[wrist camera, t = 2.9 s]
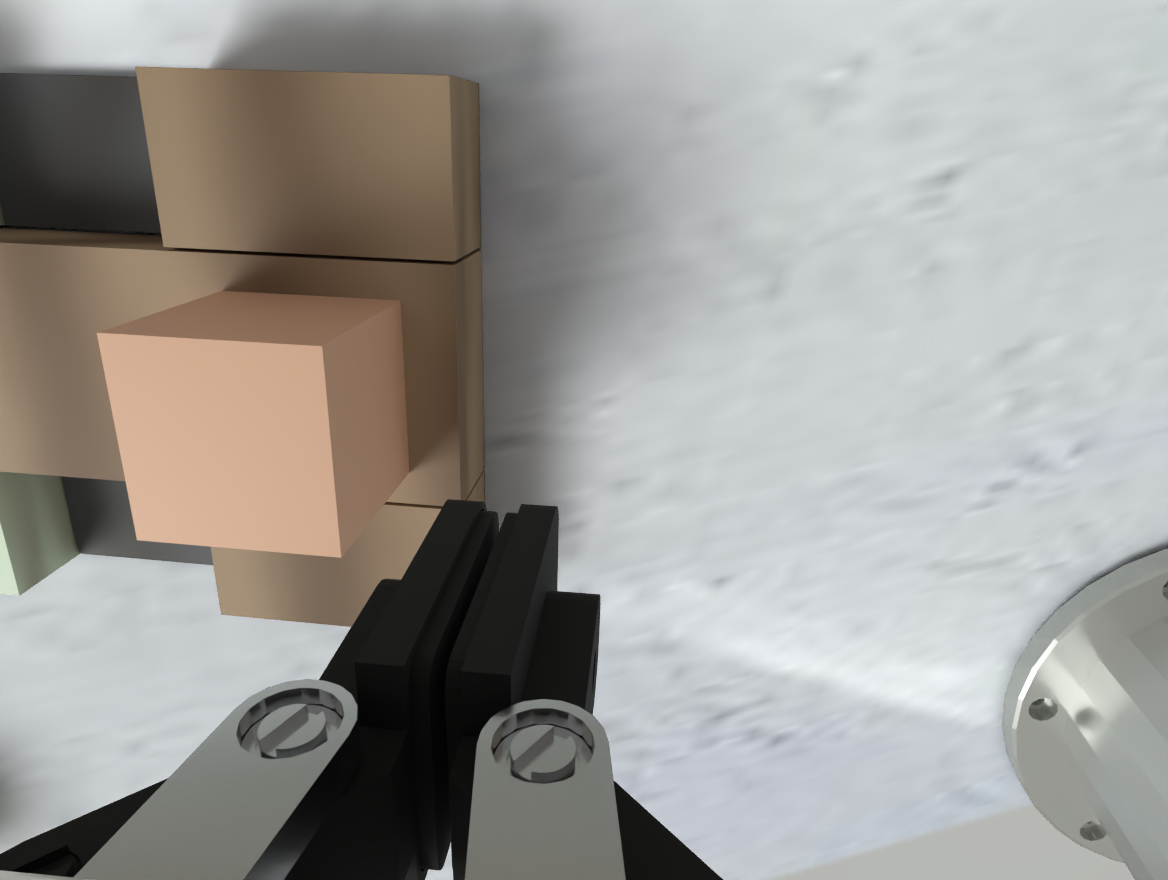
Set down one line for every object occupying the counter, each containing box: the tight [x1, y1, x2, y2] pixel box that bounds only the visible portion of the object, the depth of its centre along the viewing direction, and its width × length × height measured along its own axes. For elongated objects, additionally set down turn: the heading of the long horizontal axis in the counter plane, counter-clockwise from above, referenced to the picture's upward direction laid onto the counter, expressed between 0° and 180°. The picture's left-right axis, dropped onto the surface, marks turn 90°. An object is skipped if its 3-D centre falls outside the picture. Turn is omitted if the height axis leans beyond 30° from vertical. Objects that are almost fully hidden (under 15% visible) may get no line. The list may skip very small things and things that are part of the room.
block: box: [97, 291, 409, 558], centre depth 20 cm, size 5×5×5 cm
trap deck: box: [0, 67, 485, 627], centre depth 23 cm, size 24×16×5 cm, turn 88°
